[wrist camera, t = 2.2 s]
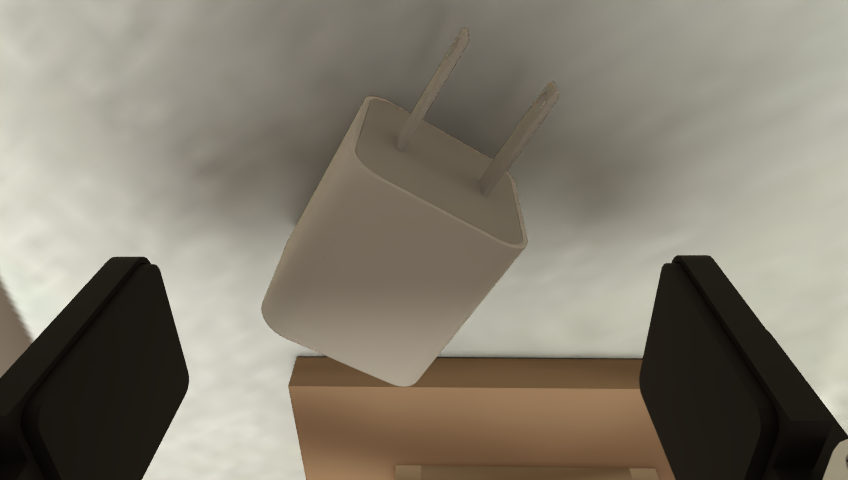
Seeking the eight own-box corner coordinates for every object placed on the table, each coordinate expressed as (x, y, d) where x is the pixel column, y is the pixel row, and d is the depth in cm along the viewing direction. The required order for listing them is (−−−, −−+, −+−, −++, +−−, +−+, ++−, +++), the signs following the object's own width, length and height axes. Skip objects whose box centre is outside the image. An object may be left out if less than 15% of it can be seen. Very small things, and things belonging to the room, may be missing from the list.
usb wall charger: (293, 226, 16) (253, 324, 13) (424, -15, 13) (418, 29, 9) (424, 289, 17) (419, 396, 14) (576, 80, 14) (620, 151, 10)
